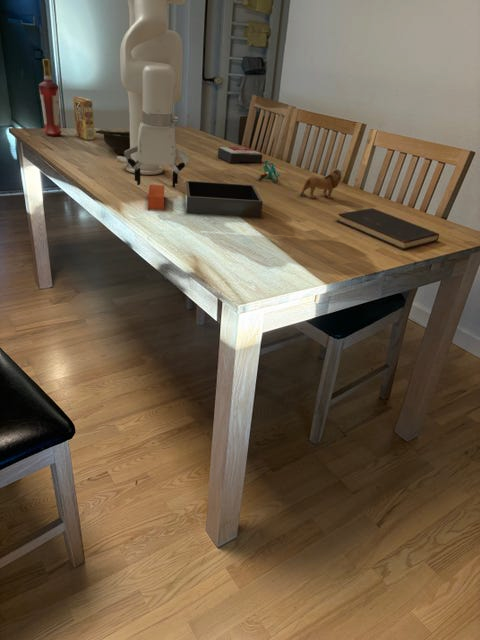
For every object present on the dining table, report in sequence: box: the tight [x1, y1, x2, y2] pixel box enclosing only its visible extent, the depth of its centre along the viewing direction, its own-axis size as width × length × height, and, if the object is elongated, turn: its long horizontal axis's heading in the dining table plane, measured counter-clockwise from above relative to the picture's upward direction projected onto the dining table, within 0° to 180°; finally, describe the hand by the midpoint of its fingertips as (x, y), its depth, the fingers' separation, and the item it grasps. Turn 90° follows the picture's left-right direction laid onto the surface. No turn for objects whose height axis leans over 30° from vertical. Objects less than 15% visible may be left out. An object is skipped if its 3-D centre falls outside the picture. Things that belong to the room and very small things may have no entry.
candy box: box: [72, 96, 96, 141], centre depth 197 cm, size 9×4×15 cm, turn 44°
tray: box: [184, 180, 264, 219], centre depth 136 cm, size 21×17×5 cm
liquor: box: [38, 58, 62, 137], centre depth 192 cm, size 7×7×28 cm
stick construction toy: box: [258, 159, 281, 183], centre depth 170 cm, size 12×7×8 cm
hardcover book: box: [336, 207, 440, 251], centre depth 133 cm, size 16×23×2 cm
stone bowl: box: [94, 129, 130, 156], centre depth 186 cm, size 25×25×9 cm
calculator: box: [217, 146, 263, 164], centre depth 193 cm, size 11×4×15 cm
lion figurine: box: [299, 168, 343, 200], centre depth 155 cm, size 15×5×9 cm, turn 116°
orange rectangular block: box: [147, 184, 165, 211], centre depth 133 cm, size 4×12×4 cm, turn 7°
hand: (156, 184), depth 132 cm, fingers open, 9 cm apart
